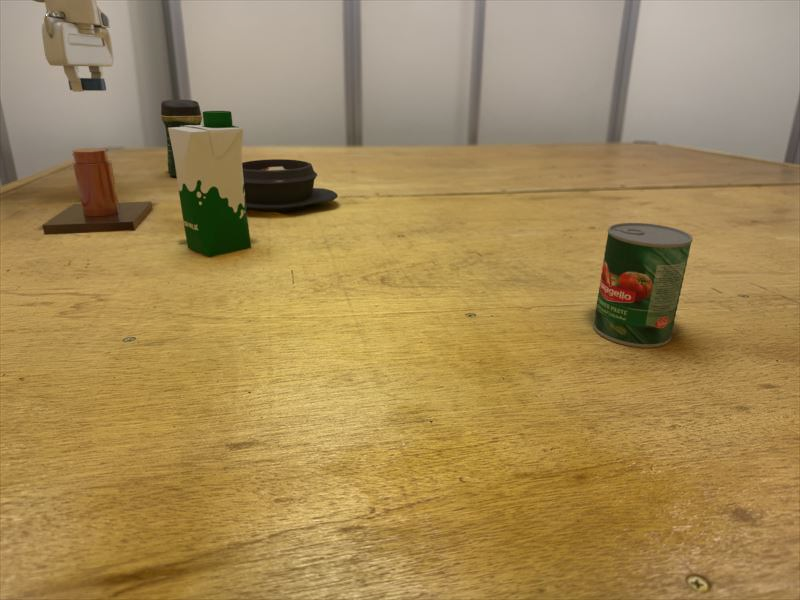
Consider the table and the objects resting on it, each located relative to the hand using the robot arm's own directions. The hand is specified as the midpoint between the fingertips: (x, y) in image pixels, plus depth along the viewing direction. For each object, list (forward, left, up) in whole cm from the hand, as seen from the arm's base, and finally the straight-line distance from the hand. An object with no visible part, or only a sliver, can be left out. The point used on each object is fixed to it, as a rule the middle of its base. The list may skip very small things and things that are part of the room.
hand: (88, 90), depth 112 cm
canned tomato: (+73, -83, -22) cm, 113 cm away
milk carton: (+27, -44, -22) cm, 56 cm away
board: (+5, -23, -21) cm, 32 cm away
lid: (0, 0, +2) cm, 2 cm away
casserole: (+36, -17, -22) cm, 45 cm away
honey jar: (+5, -23, -20) cm, 31 cm away
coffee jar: (+14, +23, -22) cm, 34 cm away
